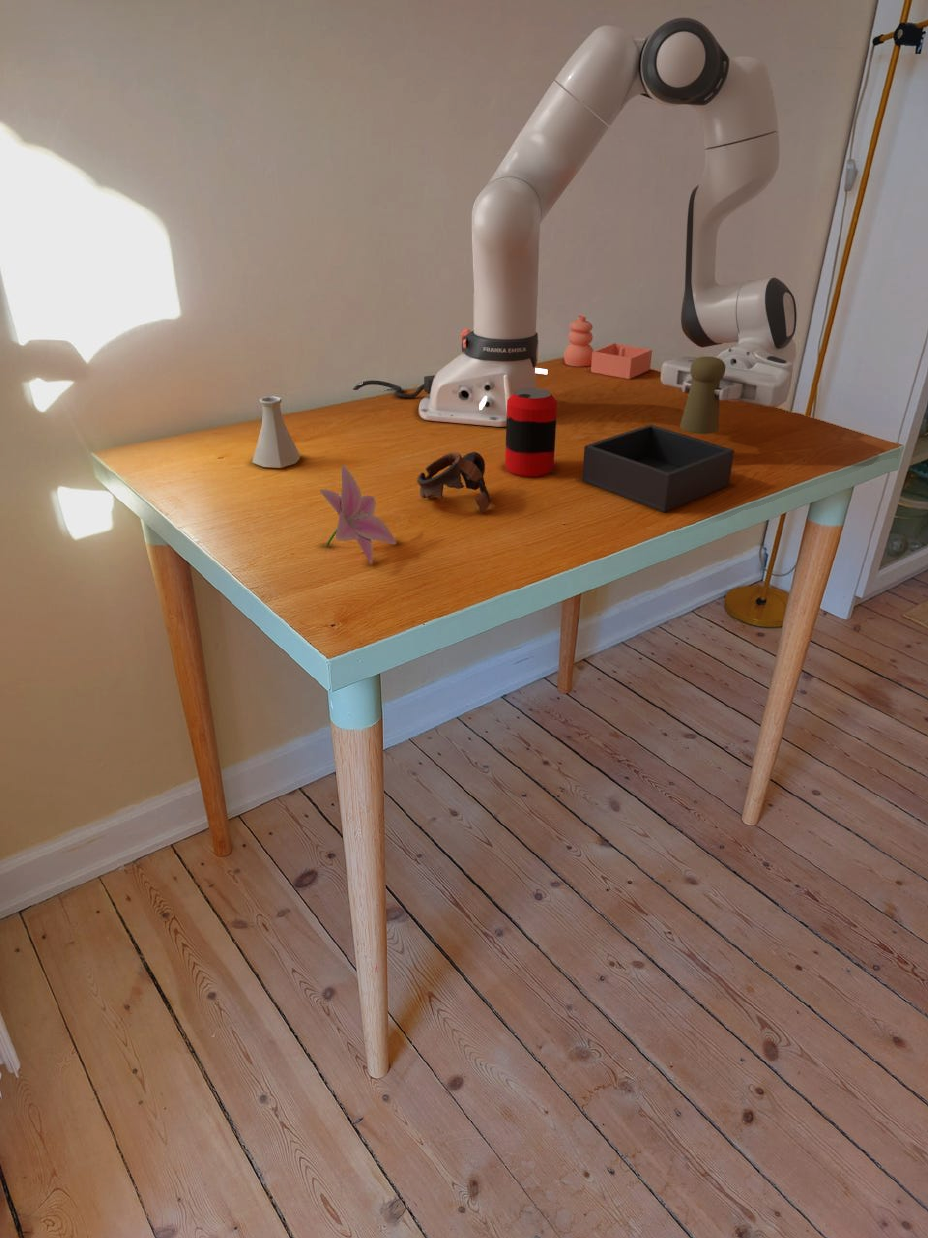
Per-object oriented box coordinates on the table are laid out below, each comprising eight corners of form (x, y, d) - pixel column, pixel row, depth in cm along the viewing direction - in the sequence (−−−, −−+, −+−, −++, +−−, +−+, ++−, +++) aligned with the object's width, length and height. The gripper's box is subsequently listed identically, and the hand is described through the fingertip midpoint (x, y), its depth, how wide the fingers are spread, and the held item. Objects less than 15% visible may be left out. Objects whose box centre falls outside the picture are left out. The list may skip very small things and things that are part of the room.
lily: (324, 586, 109) (360, 525, 105) (274, 523, 114) (306, 462, 109) (392, 580, 119) (427, 524, 114) (343, 522, 123) (375, 466, 119)
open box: (664, 512, 127) (669, 475, 124) (581, 481, 137) (584, 445, 134) (728, 485, 136) (734, 449, 133) (646, 457, 146) (650, 424, 143)
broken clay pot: (481, 525, 124) (450, 476, 120) (430, 538, 130) (399, 492, 126) (513, 475, 131) (485, 428, 128) (463, 490, 137) (435, 445, 134)
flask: (308, 457, 145) (303, 395, 140) (282, 472, 139) (276, 408, 134) (271, 450, 147) (265, 390, 142) (244, 464, 142) (236, 402, 137)
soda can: (495, 470, 140) (497, 393, 134) (522, 456, 146) (525, 382, 140) (536, 481, 137) (539, 403, 130) (562, 467, 142) (567, 391, 136)
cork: (719, 435, 140) (730, 364, 135) (679, 432, 141) (689, 361, 136) (717, 423, 145) (728, 354, 140) (679, 420, 146) (689, 351, 141)
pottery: (650, 369, 192) (655, 322, 187) (629, 379, 186) (634, 330, 181) (576, 356, 202) (580, 310, 197) (554, 364, 195) (557, 318, 190)
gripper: (685, 343, 153) (645, 359, 144) (803, 364, 142) (768, 383, 133) (680, 380, 156) (640, 398, 147) (795, 403, 145) (760, 425, 136)
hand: (702, 391), depth 140 cm, fingers closed on cork, 4 cm apart
